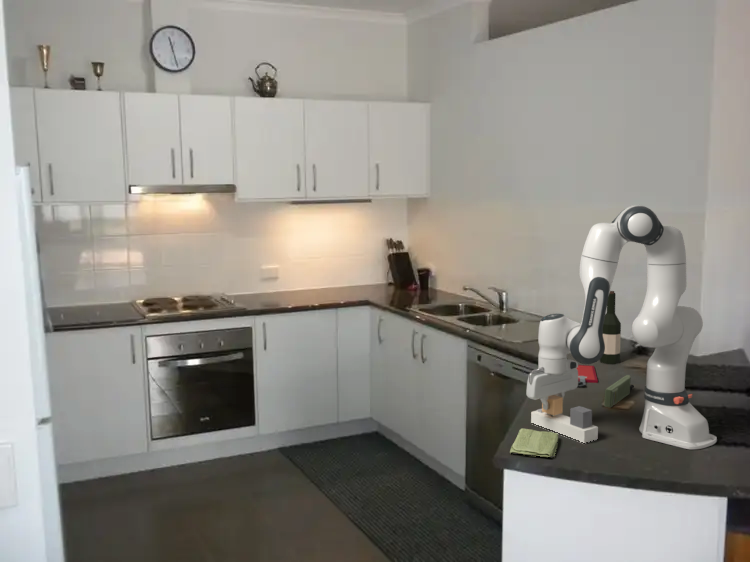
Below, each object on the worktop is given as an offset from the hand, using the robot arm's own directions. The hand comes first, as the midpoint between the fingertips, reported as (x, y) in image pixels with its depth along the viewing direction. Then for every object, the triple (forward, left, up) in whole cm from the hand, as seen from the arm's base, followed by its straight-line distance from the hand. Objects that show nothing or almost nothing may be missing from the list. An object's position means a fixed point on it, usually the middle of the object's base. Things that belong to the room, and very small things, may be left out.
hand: (552, 407), depth 238 cm
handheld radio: (+7, -41, -7) cm, 43 cm away
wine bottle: (+40, -77, -7) cm, 87 cm away
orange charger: (0, 0, -4) cm, 4 cm away
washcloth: (-9, +16, -7) cm, 20 cm away
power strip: (-5, 0, -7) cm, 8 cm away
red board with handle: (+34, -50, -7) cm, 61 cm away
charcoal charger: (-12, 0, -5) cm, 12 cm away
